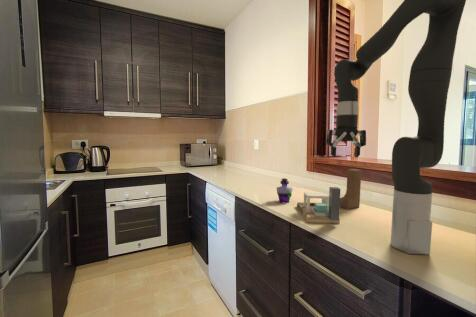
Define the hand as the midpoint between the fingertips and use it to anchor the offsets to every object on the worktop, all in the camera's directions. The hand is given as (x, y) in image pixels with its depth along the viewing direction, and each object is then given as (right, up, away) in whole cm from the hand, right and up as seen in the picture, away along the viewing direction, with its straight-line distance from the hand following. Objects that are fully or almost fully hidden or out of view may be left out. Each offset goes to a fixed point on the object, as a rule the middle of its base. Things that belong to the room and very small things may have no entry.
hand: (345, 157), depth 95 cm
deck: (-8, -25, +12) cm, 28 cm away
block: (-8, -23, +5) cm, 25 cm away
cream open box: (-7, -23, +12) cm, 27 cm away
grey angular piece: (-7, -23, +2) cm, 24 cm away
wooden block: (+12, -24, +23) cm, 35 cm away
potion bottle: (-18, -23, +32) cm, 43 cm away
